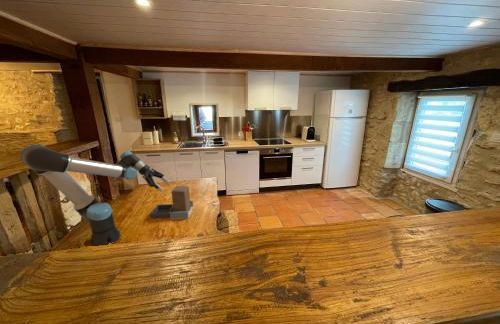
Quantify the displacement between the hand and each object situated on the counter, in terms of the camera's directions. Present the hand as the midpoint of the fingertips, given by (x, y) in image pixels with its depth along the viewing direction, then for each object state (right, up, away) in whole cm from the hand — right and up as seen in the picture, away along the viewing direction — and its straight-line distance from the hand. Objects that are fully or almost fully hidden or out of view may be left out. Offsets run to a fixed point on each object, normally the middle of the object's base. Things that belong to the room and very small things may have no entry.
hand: (165, 186), depth 149 cm
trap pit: (-4, -21, +6) cm, 23 cm away
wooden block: (+10, -21, +7) cm, 24 cm away
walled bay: (+10, -21, +7) cm, 24 cm away
